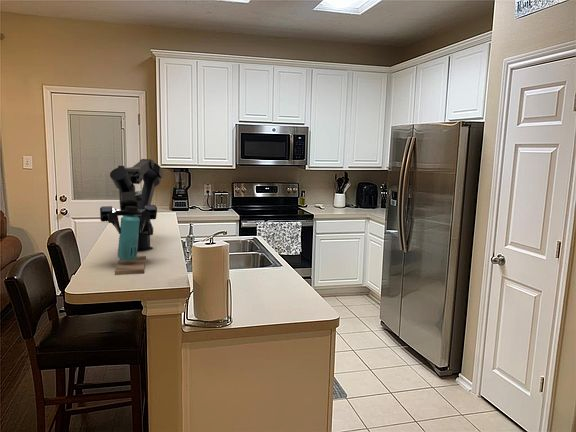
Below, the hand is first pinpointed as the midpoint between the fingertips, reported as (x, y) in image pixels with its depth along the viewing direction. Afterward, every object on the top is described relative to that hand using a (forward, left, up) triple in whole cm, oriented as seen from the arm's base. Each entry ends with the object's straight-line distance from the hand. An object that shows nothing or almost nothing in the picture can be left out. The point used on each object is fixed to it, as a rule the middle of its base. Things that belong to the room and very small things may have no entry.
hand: (130, 232), depth 146 cm
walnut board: (0, -1, -12) cm, 12 cm away
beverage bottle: (+1, -2, -11) cm, 11 cm away
